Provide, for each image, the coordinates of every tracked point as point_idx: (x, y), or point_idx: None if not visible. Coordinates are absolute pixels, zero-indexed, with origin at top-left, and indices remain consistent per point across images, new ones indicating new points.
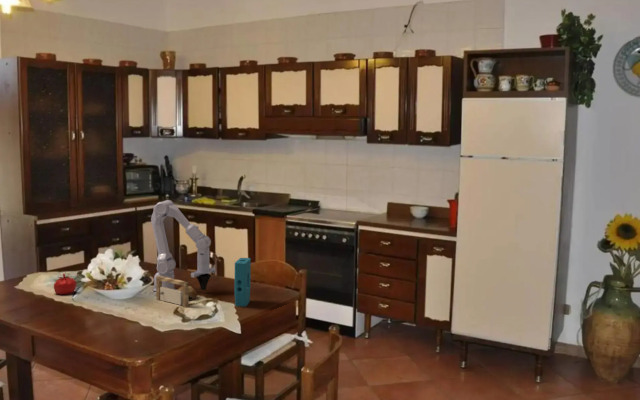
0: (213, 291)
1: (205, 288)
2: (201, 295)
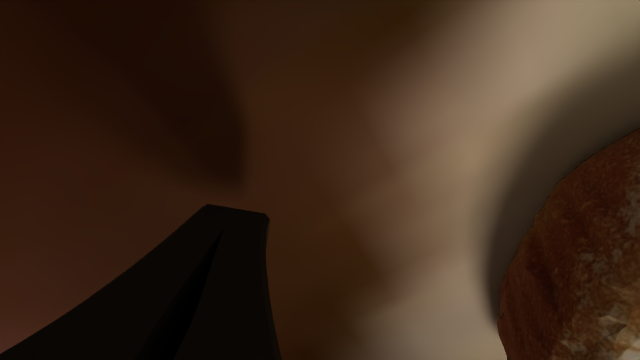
0: (26, 111)
1: (216, 217)
2: (398, 147)
